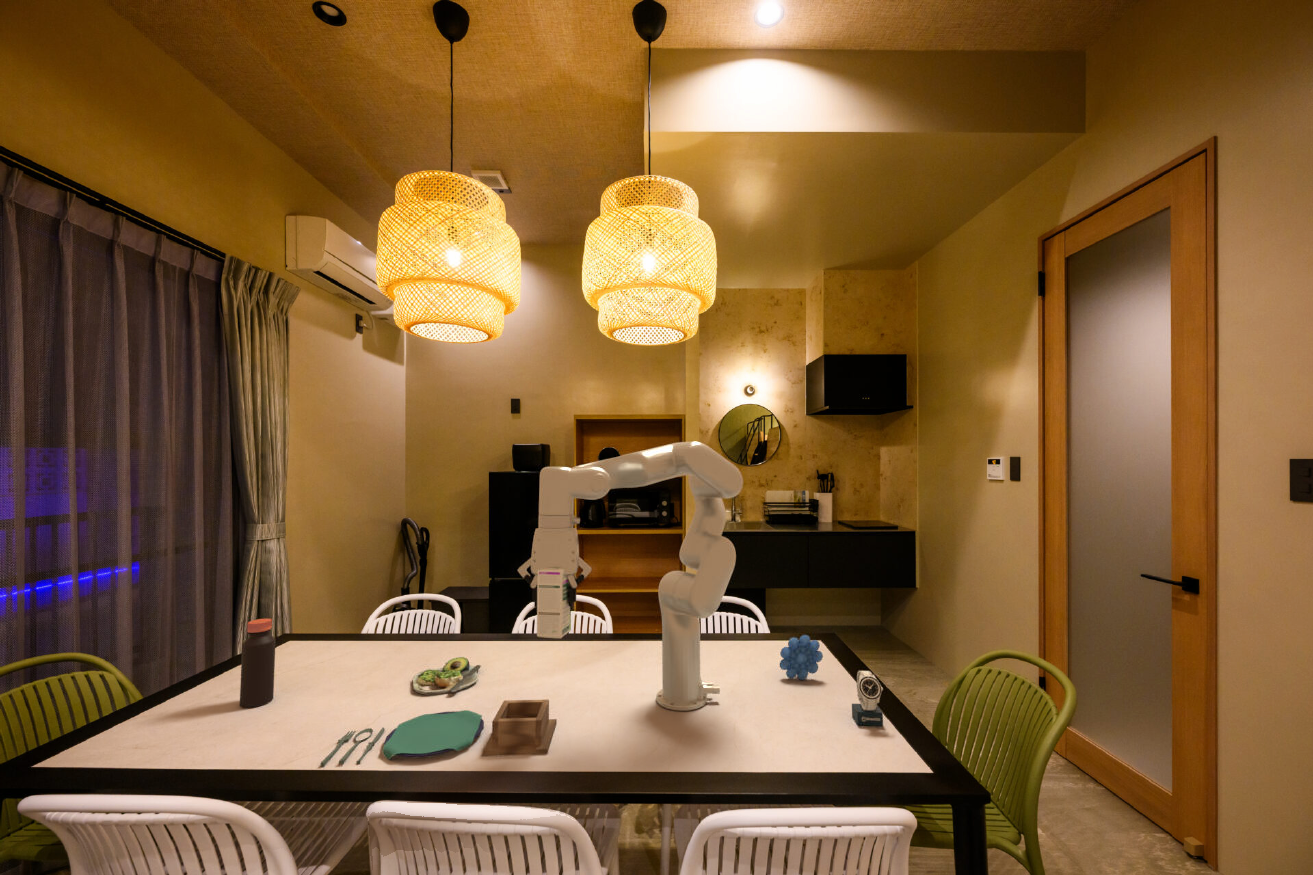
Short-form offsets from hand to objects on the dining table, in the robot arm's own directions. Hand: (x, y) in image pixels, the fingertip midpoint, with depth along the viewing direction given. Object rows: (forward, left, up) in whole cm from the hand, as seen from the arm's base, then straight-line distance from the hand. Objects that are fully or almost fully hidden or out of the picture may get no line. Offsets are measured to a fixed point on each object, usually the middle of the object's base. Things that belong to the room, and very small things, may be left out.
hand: (554, 604), depth 116 cm
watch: (-70, -3, -28) cm, 76 cm away
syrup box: (0, 0, -6) cm, 6 cm away
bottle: (+77, -22, -28) cm, 85 cm away
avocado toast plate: (+34, -33, -29) cm, 55 cm away
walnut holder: (+7, 0, -28) cm, 29 cm away
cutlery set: (+30, -1, -29) cm, 42 cm away
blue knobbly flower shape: (-63, -29, -28) cm, 75 cm away
